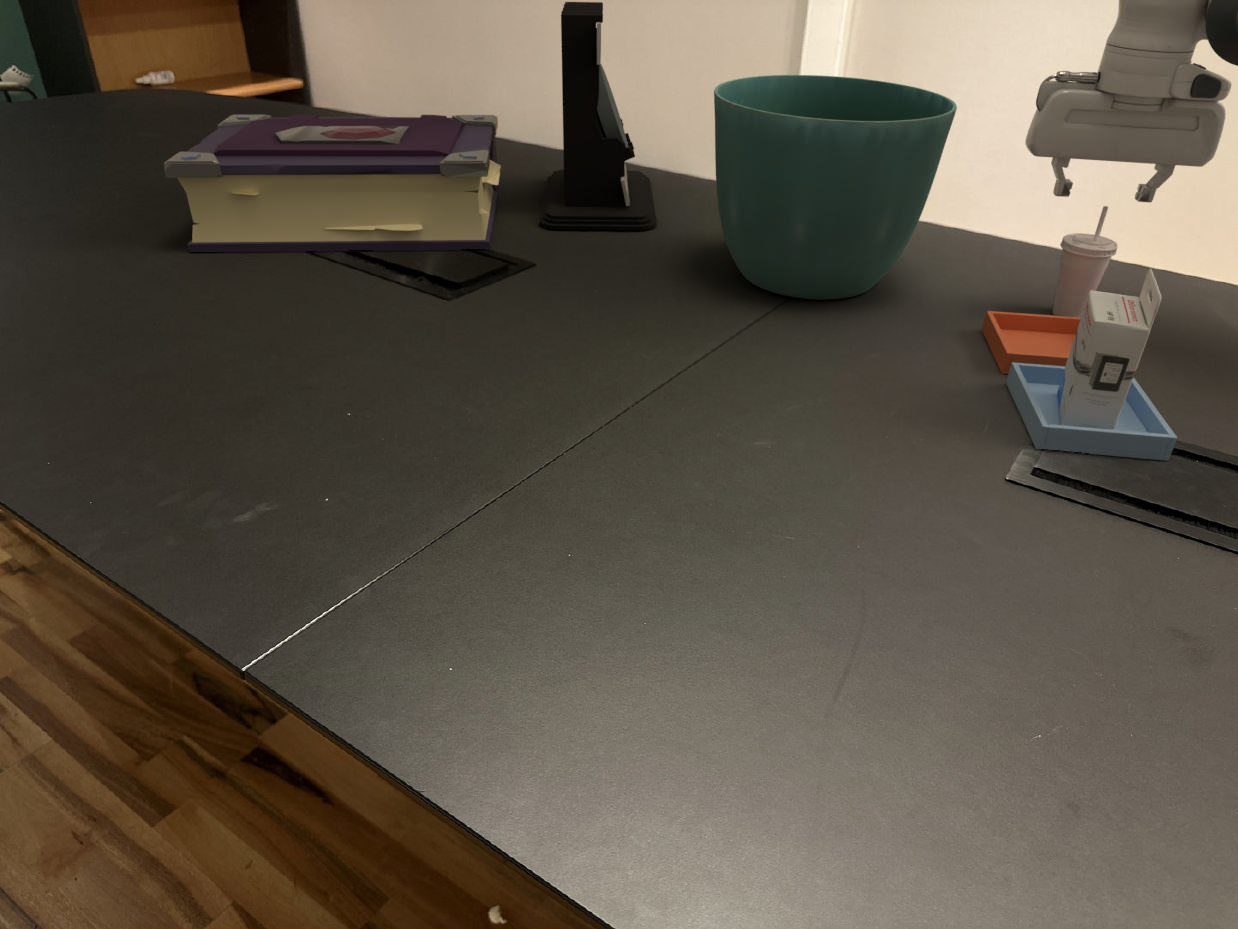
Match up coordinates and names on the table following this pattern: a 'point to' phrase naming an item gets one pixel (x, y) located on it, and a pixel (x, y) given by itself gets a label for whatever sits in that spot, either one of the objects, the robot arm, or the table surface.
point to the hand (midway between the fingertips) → (1101, 198)
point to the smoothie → (1081, 269)
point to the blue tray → (1132, 436)
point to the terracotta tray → (1029, 338)
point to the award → (593, 141)
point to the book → (342, 184)
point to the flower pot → (823, 177)
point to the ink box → (1106, 356)
